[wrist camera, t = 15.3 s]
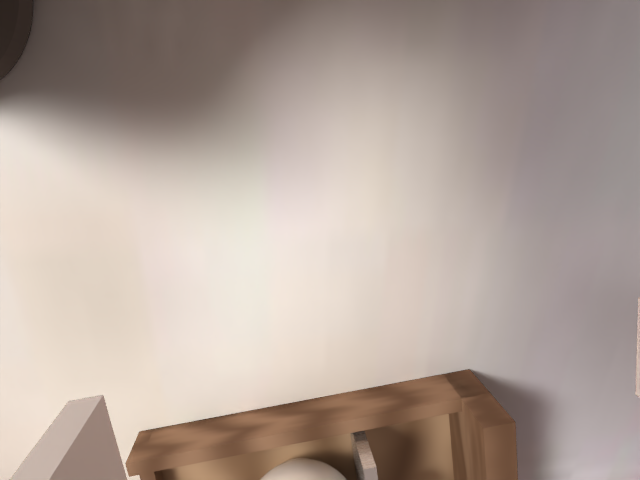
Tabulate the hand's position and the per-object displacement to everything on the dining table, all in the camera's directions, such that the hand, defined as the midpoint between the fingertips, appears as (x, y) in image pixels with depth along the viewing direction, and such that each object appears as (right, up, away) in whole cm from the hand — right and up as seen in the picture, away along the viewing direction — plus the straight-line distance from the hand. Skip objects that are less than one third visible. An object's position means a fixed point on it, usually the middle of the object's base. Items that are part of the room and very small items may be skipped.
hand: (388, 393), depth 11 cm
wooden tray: (-2, -19, +32) cm, 37 cm away
